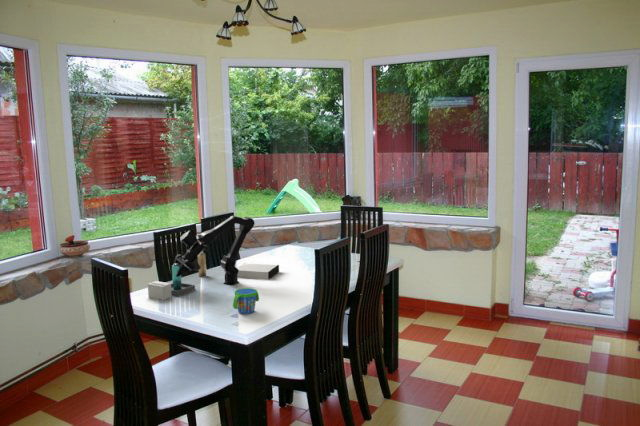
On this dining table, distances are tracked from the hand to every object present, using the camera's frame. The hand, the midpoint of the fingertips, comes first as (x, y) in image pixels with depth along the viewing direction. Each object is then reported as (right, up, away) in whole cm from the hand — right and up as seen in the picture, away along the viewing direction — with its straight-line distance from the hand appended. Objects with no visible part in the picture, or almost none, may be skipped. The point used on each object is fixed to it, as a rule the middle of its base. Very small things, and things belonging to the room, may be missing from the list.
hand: (174, 274), depth 271 cm
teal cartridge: (+1, -8, +2) cm, 8 cm away
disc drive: (+39, -5, +37) cm, 54 cm away
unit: (-5, -10, -8) cm, 14 cm away
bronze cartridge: (+7, -5, +33) cm, 34 cm away
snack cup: (+43, -14, -31) cm, 54 cm away
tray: (+1, -9, +2) cm, 9 cm away
